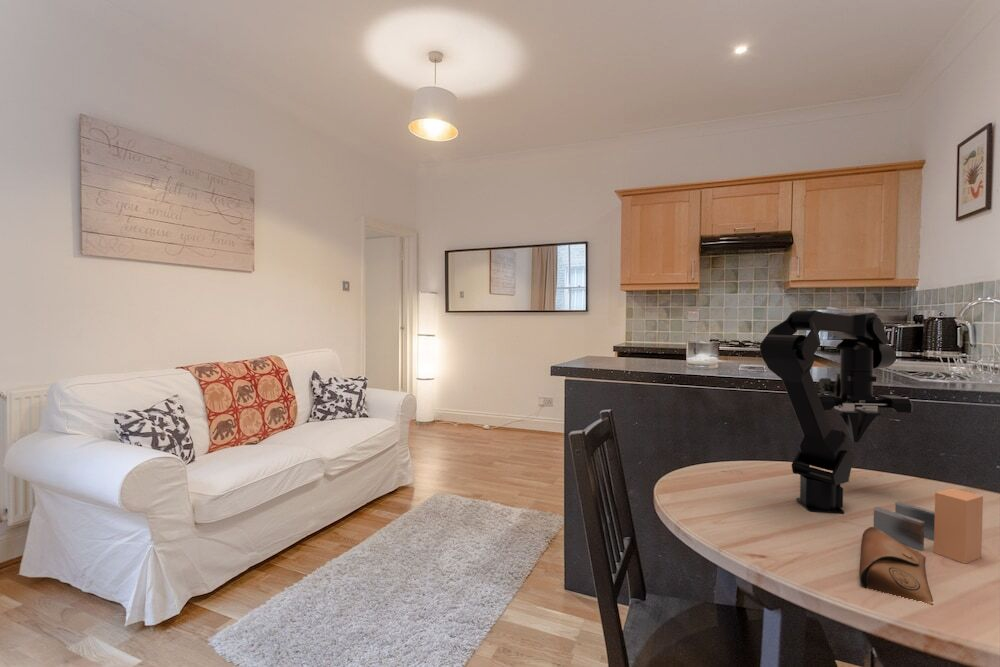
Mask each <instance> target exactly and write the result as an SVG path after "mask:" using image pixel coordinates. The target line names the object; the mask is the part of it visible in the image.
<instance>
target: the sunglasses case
mask: <svg viewBox="0 0 1000 667" xmlns="http://www.w3.org/2000/svg"><path fill="white" fill-rule="evenodd" d="M926 557H927V556H926V555H924V554H923V553H921V552H920V551H918V550H917V551H916V549H913V548H911V547H908V546H905V545H903V544H901V543H899V542H897V541H896V540H894V539H893V538H891V537H890V536H888V535H887V534H885V533H884V532H882V531H881V530H879V529H877V528H875V527H874V526H870V527H868V528H866V529H865V530H864V531H863V533H862V537H861V547H860V562H859V580H860V583H861V584H862V586H863V587H864V588H865V589H867V588H868V590H871V589H873V590H872V591H875V590H877V591H876V592H879V591H881V592H880V593H883V592H884V593H883V594H886V593H889V594H888V595H890V594H892V595H891V596H894V595H896V596H895V597H898V596H901V597H900V598H902V597H904V598H903V599H906V598H908V599H907V600H910V599H913V600H912V601H914V600H916V601H915V602H918V601H922V602H924V603H923V604H926V603H927V604H926V605H929V606H934V599H933V596H932V595H933V594H932V593H931V590H930V586H929V582H928V578H927V571H926ZM922 602H921V603H922Z"/></svg>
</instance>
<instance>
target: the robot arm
mask: <svg viewBox="0 0 1000 667" xmlns="http://www.w3.org/2000/svg"><path fill="white" fill-rule="evenodd" d="M878 316H879V315H877V313H875V312H873V311H872V312H840V313H830V312H823V311H820V310H819V311H818V310H815V309H812V310H811V309H810V310H809V309H807V310H795V311H791V313H790V314H789V315H788V317H787V318H786V319H784V320H783V322H780V323H779V324H777V325H775V326H774V327H772V328H771V329H770V330H769V331H768V333H767V334H766V336H765V337H764V338H763V339H762V341H761V343H760V345H759V346H760V347H759V352H760V356H761V359H762V360H763V361H764V364H765V365H766V367H767V368H768V370H770V371H771V372H772V373H773V374H775V375H776V376H777V377H778V378H780V379H781V381H782V383H783V385H784V387H785V390H786V393H787V396H788V398H789V400H790V403H791V405H792V409H793V410H794V414H795V416H796V419H797V421H798V423H799V426H800V429H801V432H802V435H803V437H802V439H801V440H800V442H799V445H798V447H799V451H798V452H797V454H796V455H795V458H794V459H793V461H792V463H791V469H792V474H795V475H799V476H800V477H799V480H800V481H799V497H796V502H798V503H799V504H800V505H801V506H802V507H803V508H805V509H806V510H807V511H808V512H812V513H827V514H839V515H844V514H845V511H844V510H843V509H842V508H843V507H844V488H843V487H842V485H841V484H845V483H849V481H850V477H851V471H852V467H853V462H854V456H853V453H852V452H851V448H852V447H851V444H849V440H848V437H847V434H846V433H845V431H842V430H836V429H833V428H831V426H830V422H829V419H828V417H827V414H826V411H831V410H832V411H834V412H836V413H838V414H839V416H840V417H841V419H842V421H843V423H844V425H845V428H846V430H847V433H848V436H849V438H850V440H851V442H852V443H855V444H857V443H859V442H860V441H861V439H862V437H863V436H864V434H865V432H866V430H867V429H868V428H869V426H870V425H871V423H873V421H875V418H877V417H880V416H882V413H881V412H880V411H878V408H887V409H892V410H893V411H894V412H896V413H908V414H909V413H911V414H912V413H913V412H914V409H913V408H914V404H913V402H912V401H911V399H910V398H907V397H903V396H899V395H894V394H892V395H889V394H886V395H884V394H878V395H877V396H876V395H873V392H874V391H873V388H874V386H873V385H874V383H875V382H877V376H874V370H877V369H885V368H886V369H887V368H889V367H891V366H892V365H894V363H895V362H896V359H897V353H896V351H895V349H894V348H893V347H892V346H891V345H889V339H888V336H887V334H886V330H885V328H884V326H883V323H882V322H883V321H882V320H881V318H879V317H878ZM798 331H807V332H808V331H809V332H808V334H807V335H806V336H805V335H803V334H796V333H797V332H798ZM820 332H824V333H825V332H827V333H832V336H834V337H836V338H839V339H841V340H842V341H840V343H838V344H837V345H836V347H835V349H836V350H840V355H839V356H840V360H839V362H840V364H839V366H840V367H839V373H837V374H836V380H832V379H831V378H825V377H823V378H819V379H818V389H817V387H816V385H815V381H814V379H813V377H812V374H811V369H812V367H813V365H814V362H815V360H816V357H815V356H816V355H815V353H816V352H817V350H818V349H819V347H820V346H821V339H820V334H819V333H820ZM818 391H819V392H820V393H819V392H818ZM826 470H827V471H826Z"/></svg>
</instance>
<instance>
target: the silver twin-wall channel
mask: <svg viewBox="0 0 1000 667" xmlns="http://www.w3.org/2000/svg"><path fill="white" fill-rule="evenodd" d="M894 503H895V504H894V505H895V506H894V507H895V508H894V509H895V510H894V511H892V510H888V509H885V508H882V507H880V506H876V507H875V506H874V507H873V527H875V528H877V529H879V530H881V531H882V532H884V533H885V534H887V535H888V536H890V537H891V538H893V539H894V540H896V541H897V542H899V543H901V544H903V545H905V546H907V547H909V548H911V549H913V550H915V551H916V550H917V551H918V552H922V551H924V550H925V549H924V548H925V547H924V546H925V539H927V540H931V541H933V542H934V523H935V510H934V511H933V510H931V509H927V508H923V507H920V506H917V505H913V504H910V503H906V502H903V501H899V500H897V501H894Z"/></svg>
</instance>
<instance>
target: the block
mask: <svg viewBox="0 0 1000 667" xmlns="http://www.w3.org/2000/svg"><path fill="white" fill-rule="evenodd" d="M983 506H984V496H983V495H981V494H975V493H971V492H968V491H964V490H961V489H956V488H952V487H951V488H948V489H947V488H946V489H944V490H943V489H942V490H940V491H936V492H935V493H934V512H935V523H934V541H933V553H934V554H937V555H940V556H941V557H945V558H947V559H950V560H953V561H956V562H959V563H962V564H964V565H965V564H969V563H971V562H974V561H977V560H978V559H981V558H982V551H983V550H982V545H983V543H982V542H983V516H984V515H983V514H984V513H983V508H984V507H983Z"/></svg>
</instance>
